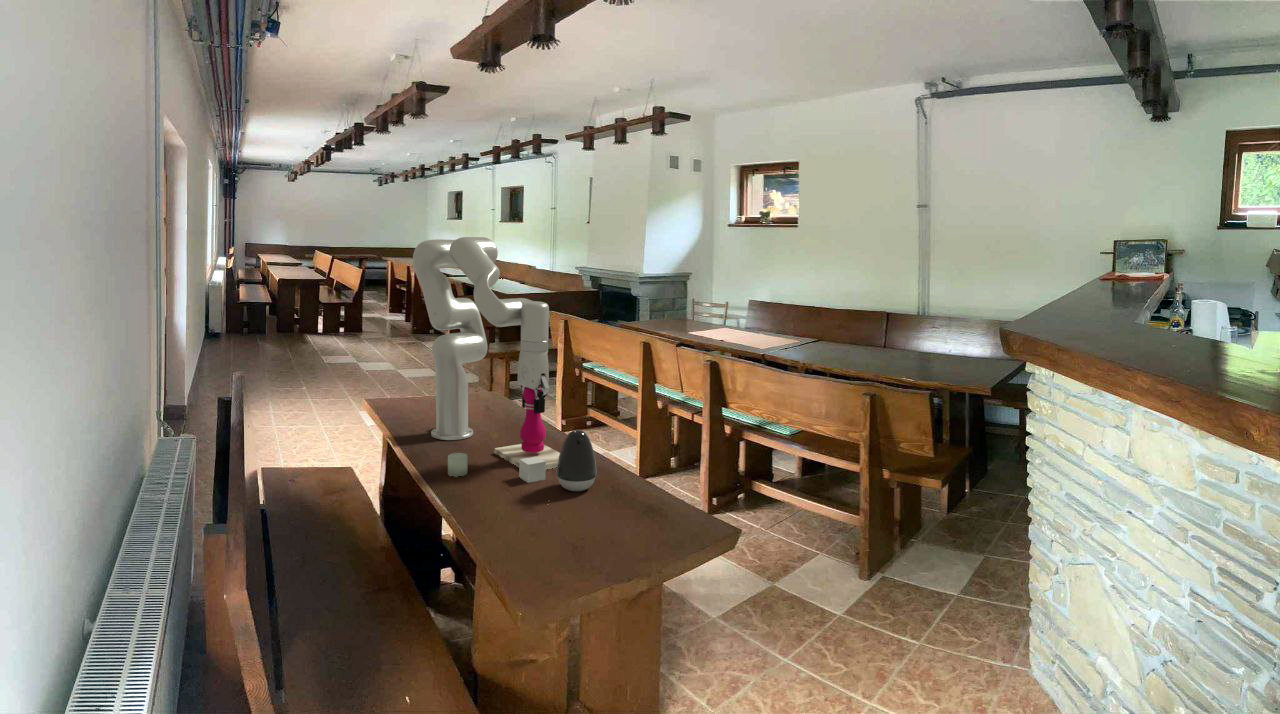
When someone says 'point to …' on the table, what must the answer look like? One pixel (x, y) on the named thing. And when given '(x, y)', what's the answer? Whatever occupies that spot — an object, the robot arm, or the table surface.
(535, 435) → the pepper mill
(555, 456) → the ash board
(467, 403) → the robot arm
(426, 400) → the table surface
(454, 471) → the sage cylinder
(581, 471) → the dark grey egg shape
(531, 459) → the grey block
